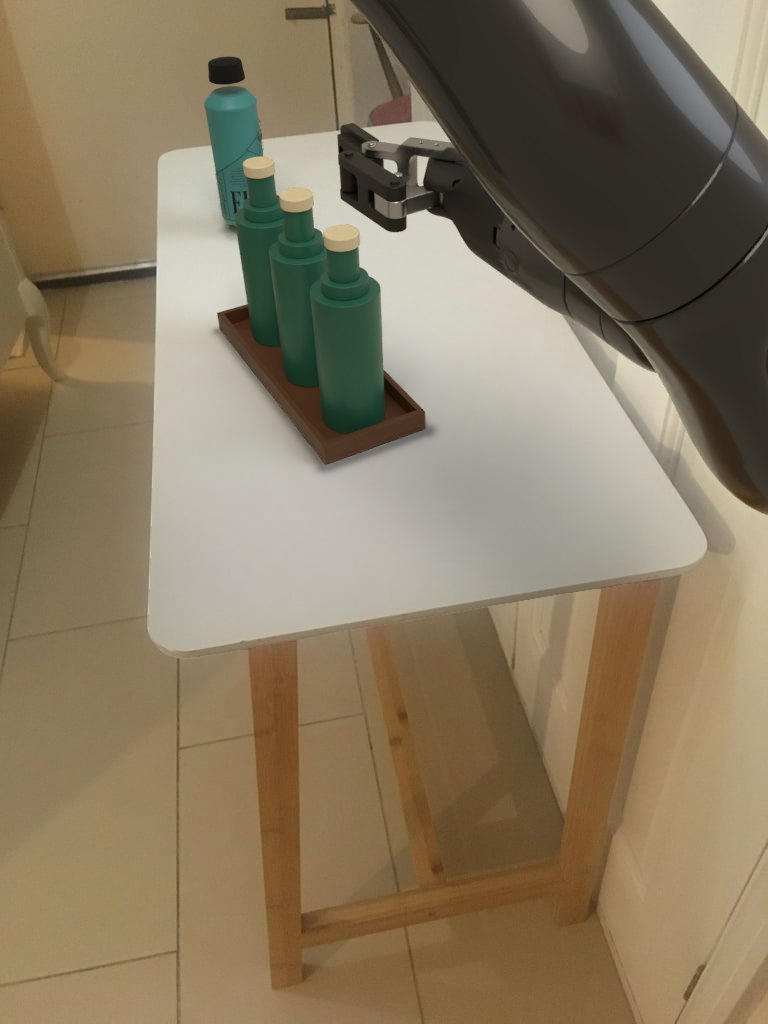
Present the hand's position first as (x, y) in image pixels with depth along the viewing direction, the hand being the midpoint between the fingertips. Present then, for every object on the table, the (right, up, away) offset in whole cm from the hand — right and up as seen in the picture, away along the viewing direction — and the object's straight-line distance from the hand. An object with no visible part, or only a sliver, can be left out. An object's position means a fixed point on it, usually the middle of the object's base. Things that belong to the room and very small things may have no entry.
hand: (406, 127), depth 55 cm
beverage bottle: (-19, +13, +59) cm, 63 cm away
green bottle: (-4, -15, +27) cm, 31 cm away
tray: (-8, -10, +33) cm, 36 cm away
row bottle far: (-12, -5, +38) cm, 41 cm away
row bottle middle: (-8, -10, +33) cm, 35 cm away
